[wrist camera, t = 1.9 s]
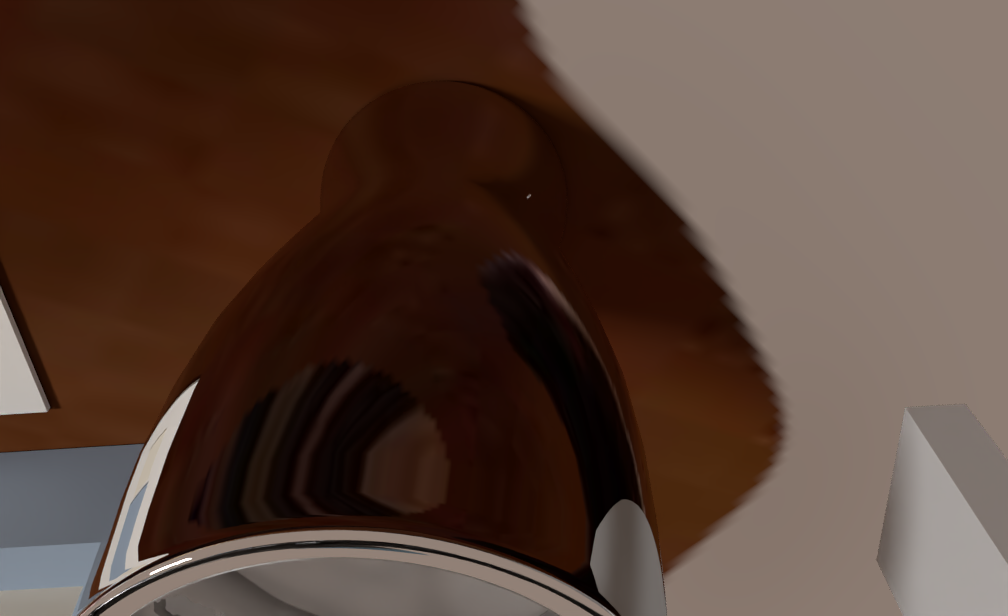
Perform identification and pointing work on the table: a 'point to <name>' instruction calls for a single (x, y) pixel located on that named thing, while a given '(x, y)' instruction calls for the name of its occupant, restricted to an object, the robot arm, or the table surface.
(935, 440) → the robot arm
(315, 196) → the table surface
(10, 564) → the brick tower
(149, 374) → the table surface
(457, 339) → the beer glass
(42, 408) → the page
